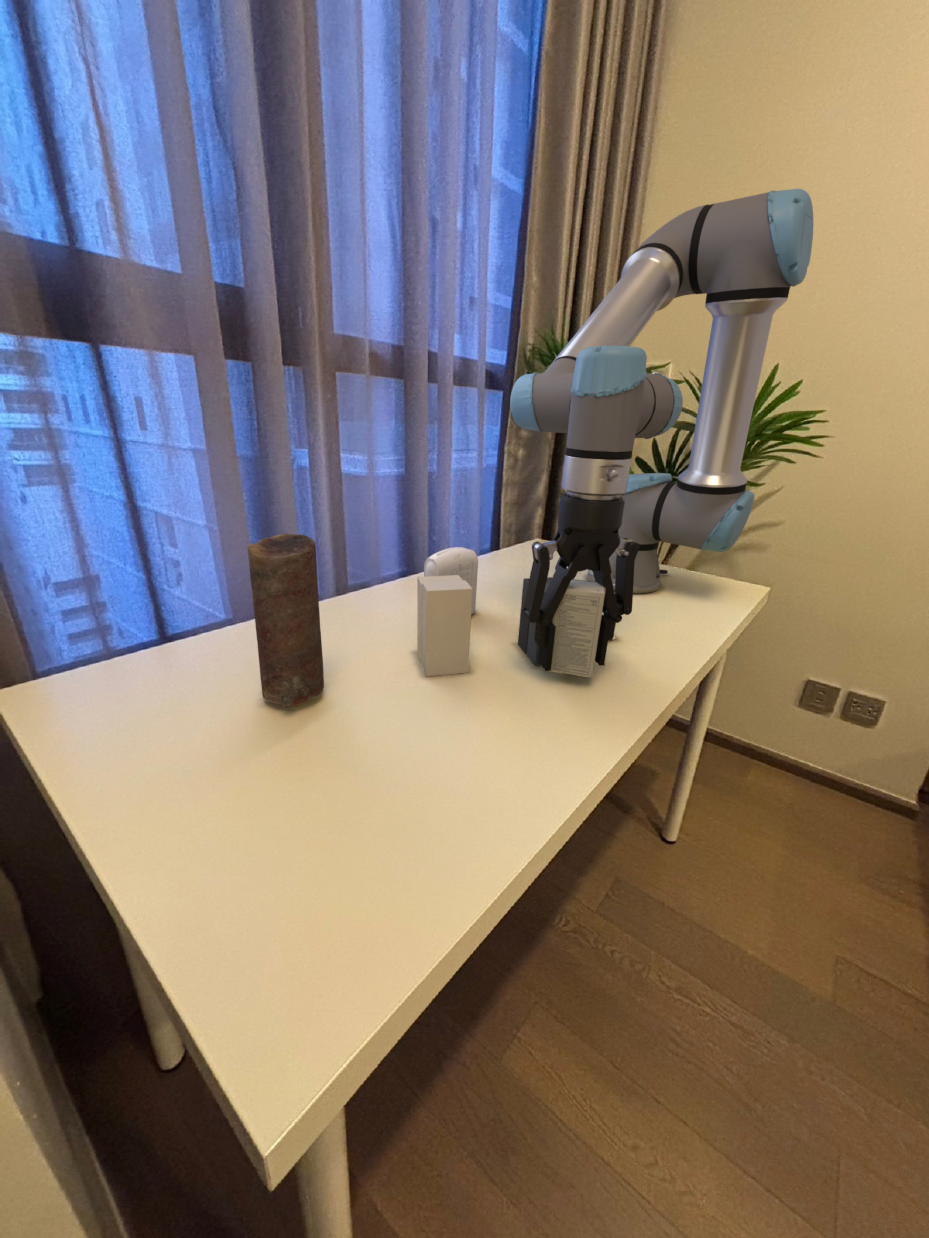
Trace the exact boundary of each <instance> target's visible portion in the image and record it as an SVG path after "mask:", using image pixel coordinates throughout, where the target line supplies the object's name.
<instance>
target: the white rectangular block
mask: <svg viewBox="0 0 929 1238" xmlns="http://www.w3.org/2000/svg"><path fill="white" fill-rule="evenodd" d="M416 589H417V599H416V601H417V602H416V603H417V609H416V611H417V614H416V615H417V619H416V620H417V625H416V631H417V632H416V634H417V635H416V637H417V639H416V640H417V641H416V643H417V644H416V645H417V646H416V647H417V649H416V651H417V656H418V658H419V661H420V664H421V666H422V669H423V672H424V674H425V676H426V677H436V676H447V675H448V676H449V675H456V674H457V675H458V674H467V673H469V666H470V648H471V646H470V645H471V625H472V624H471V623H472V614H471V606H472V588H471V586H470V585H469V584H468V583H467V581H466V580H462V579H461V578H460V576H459V575H450V576H427V577H424V576H417V588H416Z"/></svg>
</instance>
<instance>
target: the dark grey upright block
mask: <svg viewBox="0 0 929 1238" xmlns="http://www.w3.org/2000/svg"><path fill="white" fill-rule="evenodd" d="M552 577H553V576H548V577H547V582H546V586H545V590H544V594H545V592H546V590H547V588H548V586H549V584H550V581H551V579H552ZM529 578H530V577H529ZM529 578H523V581H522V591H521V602H520V614H519V624H518V637H517V646H518V647H519V648H520V650H521V651H522V652H523V653H524V655H526V657H527V658H528V660H529V661H530V662H531V663H532V665H533V666H534V667H542V666H541V665H540V664H539V663H538V656H539V646H538V645H537V644H536V643H535V640H534V637H535V626H536V623H531V622H530V621H529V620H528V619H527V618H526V617H525V616H524V614H523V607H524V602H525V597H526V592H527V588H528V583H529ZM543 596H544V595H543ZM551 622H552V621H551Z"/></svg>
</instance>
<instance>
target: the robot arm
mask: <svg viewBox="0 0 929 1238" xmlns="http://www.w3.org/2000/svg"><path fill="white" fill-rule="evenodd" d="M813 208H814V207H813V202H812V199H811V196H810V194H809V193H808V191H806V190H805V189H803V188H791V189H782V190H781V189H780V190H770V191H768V192H763V193H759V194H754V195H750V196H744V197H740V198H734V199H730V200H725V201H720V202H715V203H710V204H704V205H699V206H696V207H693V208H690V209H689V210H686V211H684V212H683V213H680V214H678V215H677V216H675V217H674V218H672V219H671V220H669V221H667V222H666V223H665V224H663V225H662V226H660V227H659V228H658V229H657V230H655V232H653V233H651V235H650V236H649V237H647V238H646V239H645V240H644V241H642V243H641V244H640V245H639V246H638V247H637V248H636V250H635V251H634V252H632V254H631V255H630V256H629V258H628V259H626V262H625V263H624V265H623V267H622V270H621V274H620V279H619V280H618V281H617V282H616V284H615V285H614V286H613V287H612V289H611V290H610V291H609V292H608V293H607V295H606V296H605V297H604V299H602V301H601V302H600V303H599V305H598V306H597V307H596V308H595V309H594V310H593V312H592V313H591V314H590V316H589V317H588V318H587V319H586V320H585V322H584V323H583V324H582V326H581V327H580V328H579V329H578V330H577V331H576V333H575V334H574V335H573V337H571V338H570V340H569V341H568V342H567V344H566V345H565V346H564V347H563V348H562V349H561V351H560V352H559V353H558V355H557V356H556V357H555V358H554V360H553V361H552V362H551V364H549V366H548V367H547V368H546V370H545V371H544V372H541V373H540V372H538V371H536V372H532V373H527V374H522V375H521V376H519V378H517V380H516V381H515V382H514V384H513V387H512V390H511V393H510V398H509V407H510V413H511V416H512V419H513V421H514V423H515V424H516V425H517V426H518V427H519V428H520V429H524V430H530V431H537V432H539V433H557V434H558V433H560V434H567V438H566V446H565V454H564V462H563V471H562V478H561V479H562V480H561V488H562V489H563V490H564V491H565V492H563V494H562V495H561V496H560V499H559V508H558V518H557V524H558V525H557V532H556V534H555V536H554V537H553V539H552V540H550V541H546V542H542V543H541V542H539V541H534V542H532V544H531V553H532V559H533V560H532V565H531V569H530V574H529V583H528V588H527V592H526V597H525V602H524V607H523V614H524V616H525V617H526V618H527V619H528V620H529V621H530V622H531V623H536V626H535V637H534V640H535V643H536V644H537V645H538V646H539V656H538V663H539V664H540V665H541V666H540V667H541V668H542V669H543V670H544V672H552V671H551V665H552V656H553V647H554V639H555V630H556V626H555V625H554V624H553V623H552V622H551V621H552V619H553V617H554V615H555V613H556V611H557V609H558V606H559V604H560V602H561V600H562V598H563V596H564V594H565V592H566V590H567V588H568V586H569V584H570V582H571V580H572V579H575V578H576V577H577V574H578V572H583V571H587V576H586V577H587V581H594V582H597V583H599V584H600V585H602V586H603V587H604V588H605V597H604V603H603V610H602V617H601V623H600V630H599V636H598V643H597V650H596V656H595V663H596V664H597V665H598V666H600V667H601V666H605V664H606V663H605V662H606V657H607V651H608V646H609V645H608V644H609V642H611V641H613V640H612V639H613V637H614V631H616V624H619V623H621V622H622V620H623V615H626V616H629V615H630V614H632V611H633V601H634V600H633V599H634V594H647V593H654V592H656V591H657V590H659V589H660V585H661V580H662V579H661V577H662V576H661V575H667V574H668V569H660V562H659V555H658V548H659V543H660V542H661V543H666V544H671V545H677V546H682V547H687V548H691V549H696V550H700V551H702V552H704V551H708V552H715V553H725V552H727V551H729V550H730V549H732V547H734V545H735V544H736V543H737V541H738V539H739V538H740V536H741V535H742V533H743V530H744V529H745V527H746V525H747V522H748V520H749V517H750V515H751V513H752V509H753V507H754V502H755V501H754V500H755V493H754V492H752V491H751V490H749V489H748V490H746V488H747V484H748V478H747V477H746V475H745V474H744V473H743V471H742V469H741V467H742V463H743V458H744V453H745V449H746V444H747V438H748V434H749V430H750V424H751V420H752V416H753V411H754V407H755V402H756V396H757V392H758V389H759V388H758V387H759V384H760V383H759V382H760V378H761V374H762V369H763V365H764V364H763V363H764V360H765V355H766V350H767V345H768V340H769V335H770V330H771V327H772V321H773V317H774V314H775V313H776V312H777V311H778V310H779V309H780V308H781V307H782V306H783V305H784V304H785V303H786V302H788V299H789V294H790V291H791V290H790V289H791V288H792V287H796V286H798V285H801V284H802V283H803V281H804V280H805V278H806V276H807V272H808V267H809V265H810V262H811V261H810V260H811V256H812V249H813V240H814V239H813V238H814V209H813ZM703 294H704V295H705V294H706V295H705V302H704V307H705V308H706V310H707V311H708V312H709V314H711V317H712V321H711V326H710V327H711V328H710V335H709V341H708V347H707V353H706V359H705V363H704V364H705V365H704V371H703V375H702V383H701V389H700V394H699V395H700V396H699V401H698V407H697V413H696V419H695V426H694V432H693V437H692V443H691V444H692V445H691V451H690V457H689V461H688V466H687V468H686V469H685V470H684V471H682V472H681V473H680V474H678V476H677V482H674V481H673V478H672V474H671V473H667V472H666V473H664V472H651V473H650V472H649V473H648V472H647V473H631V474H630V469H631V463H632V458H633V450H634V446H635V439H645V440H649V439H652V438H655V437H657V436H658V437H659V436H661V435H663V434H665V433H667V432H668V431H669V430H671V429H672V428H673V427H674V426H675V424H676V423H677V422H678V420H679V418H680V416H681V414H682V410H683V405H684V399H683V393H682V391H681V389H680V386H679V385H678V384H677V382H676V381H675V380H673V379H672V378H670V377H668V376H666V375H663V374H662V373H659V372H655V373H650V372H649V373H648V372H647V361H648V360H647V358H648V355H647V353H646V350H644V348H641V347H637V346H631V345H632V344H634V341H636V339H637V337H638V336H639V335H640V334H641V333H642V331H643V330H644V328H645V327H646V325H647V324H648V323H649V322H650V320H651V319H652V318H653V316H654V315H655V314H656V313H657V312H659V311H661V310H663V309H665V308H666V307H668V306H669V305H670V304H671V303H672V302H673V300H674V299H676V298H679V297H680V298H681V297H683V296H690V295H703ZM555 552H557V554H558V555H559V557H558V560H557V562H556V565H555V566H554V573H553V575H552V576H551V577H552V579H551V581H550V584H549V586H548V588H547V590H546V592H545V594H544V590H545V586H546V582H547V577H549V572H550V568H551V567H550V566H551V561H552V560H553V559H554V553H555ZM543 595H544V596H543Z"/></svg>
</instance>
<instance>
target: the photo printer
mask: <svg viewBox="0 0 929 1238" xmlns="http://www.w3.org/2000/svg"><path fill="white" fill-rule="evenodd" d="M478 569H479V558H478V555H477V553H476V551H475V550H473V549H469V548H467V547H462V546H459V547H458V546H457V547H448V548H444V549H442V550H439V551H438V552H435V553H433V554H432V555H429V556H428V557H427V558H426V559H425V561H424V565H423V577H427V576H450V575H459V576H460V578H461V579H462V580H466V581H467V583H468V584H469V585H470V586H471V588H472V606H471V615H473V614H475V612H476V609H477V607H476V605H477V589H478V588H477V587H478V573H479V572H478Z"/></svg>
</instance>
